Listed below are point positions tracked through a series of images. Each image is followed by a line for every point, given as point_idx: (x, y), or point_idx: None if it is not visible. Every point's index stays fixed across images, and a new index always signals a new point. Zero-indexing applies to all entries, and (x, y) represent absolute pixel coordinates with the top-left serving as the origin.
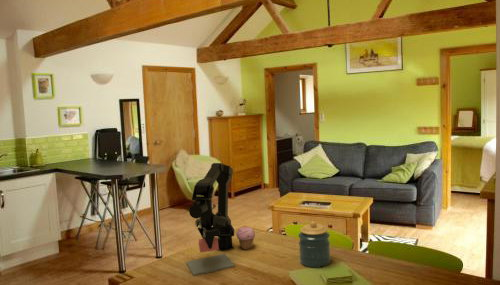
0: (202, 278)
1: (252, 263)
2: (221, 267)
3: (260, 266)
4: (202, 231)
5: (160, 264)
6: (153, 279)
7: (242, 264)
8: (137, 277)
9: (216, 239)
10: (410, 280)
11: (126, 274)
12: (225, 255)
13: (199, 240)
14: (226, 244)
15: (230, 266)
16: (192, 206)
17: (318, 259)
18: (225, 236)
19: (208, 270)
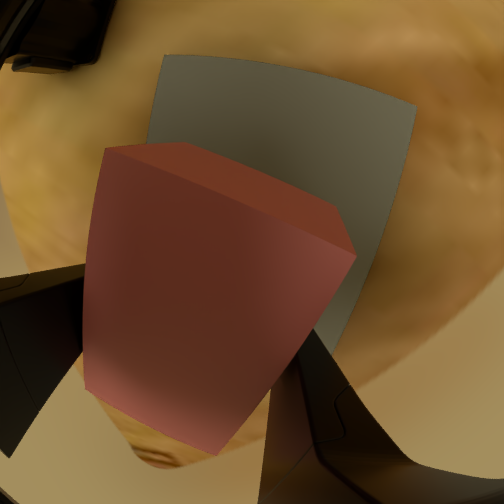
0: (386, 350)
1: (431, 4)
2: (385, 206)
3: (489, 17)
4: (8, 410)
5: None
6: (224, 447)
7: (409, 47)
8: (176, 453)
9: (234, 228)
10: None
11: (140, 449)
12: (195, 62)
13: (121, 407)
14: (81, 17)
15: (408, 140)
16: None
17: None
18: (36, 7)
19: (353, 299)
